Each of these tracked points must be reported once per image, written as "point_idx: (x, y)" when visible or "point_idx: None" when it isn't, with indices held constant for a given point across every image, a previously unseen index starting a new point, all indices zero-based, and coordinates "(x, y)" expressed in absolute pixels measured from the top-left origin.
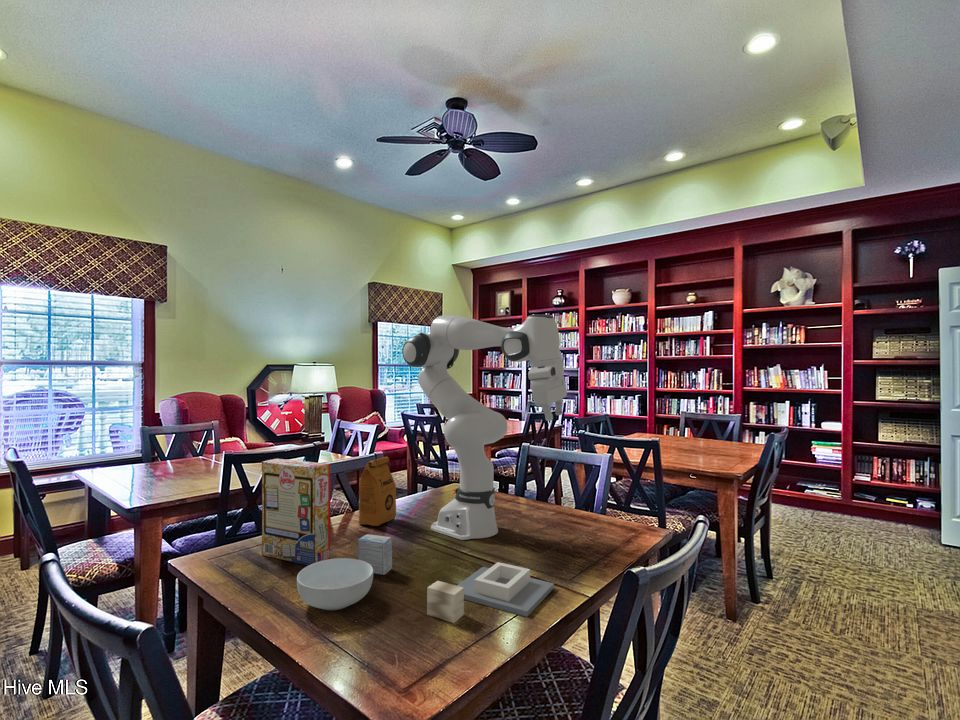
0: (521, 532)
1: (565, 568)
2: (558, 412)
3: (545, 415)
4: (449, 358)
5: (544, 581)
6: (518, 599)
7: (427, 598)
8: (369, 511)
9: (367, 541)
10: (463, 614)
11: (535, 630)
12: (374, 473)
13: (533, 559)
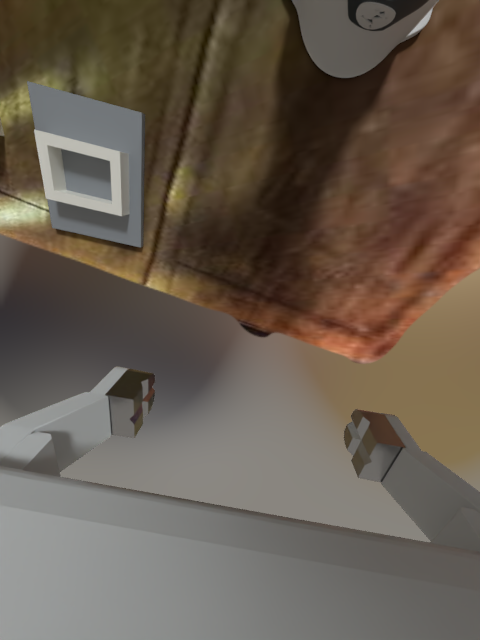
0: (357, 141)
1: (209, 252)
2: (358, 438)
3: (93, 391)
4: None
5: (139, 234)
6: (72, 209)
7: None
8: None
9: None
10: (3, 135)
11: (38, 241)
12: None
13: (225, 198)
